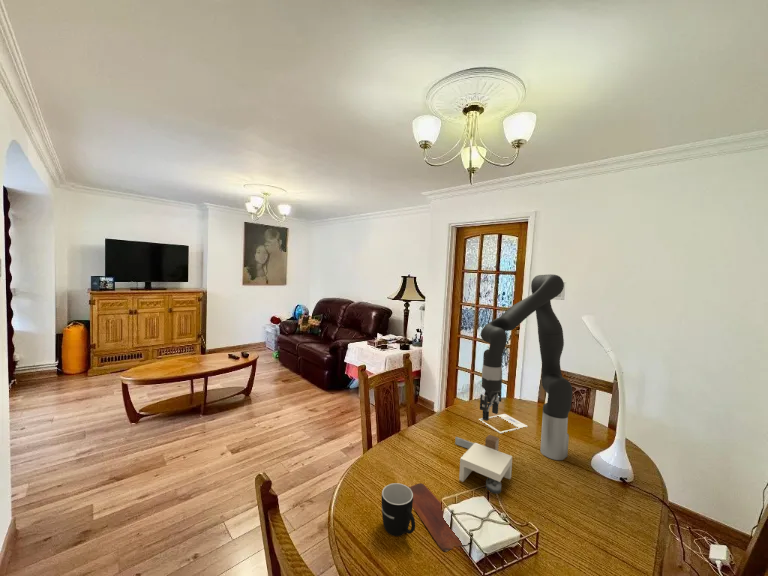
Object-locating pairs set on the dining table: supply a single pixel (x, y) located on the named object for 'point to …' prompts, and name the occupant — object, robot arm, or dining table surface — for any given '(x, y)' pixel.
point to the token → (493, 486)
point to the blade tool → (490, 442)
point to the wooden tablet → (433, 517)
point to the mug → (397, 509)
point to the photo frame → (509, 419)
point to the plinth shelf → (485, 463)
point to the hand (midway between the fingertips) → (490, 416)
